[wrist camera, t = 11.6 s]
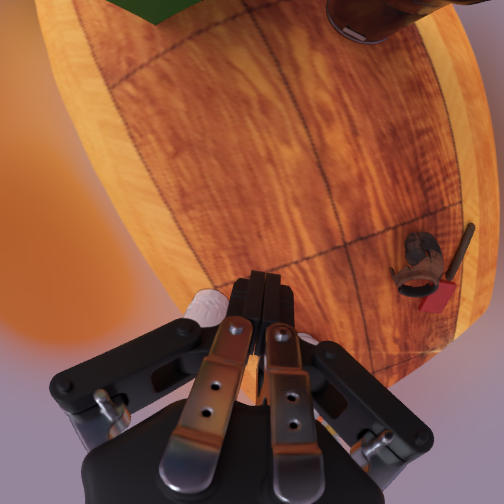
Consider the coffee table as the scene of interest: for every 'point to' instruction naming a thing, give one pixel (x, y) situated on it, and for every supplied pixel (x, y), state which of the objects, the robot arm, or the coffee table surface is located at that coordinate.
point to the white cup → (207, 308)
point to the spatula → (446, 288)
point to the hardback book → (154, 8)
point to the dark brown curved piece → (420, 265)
